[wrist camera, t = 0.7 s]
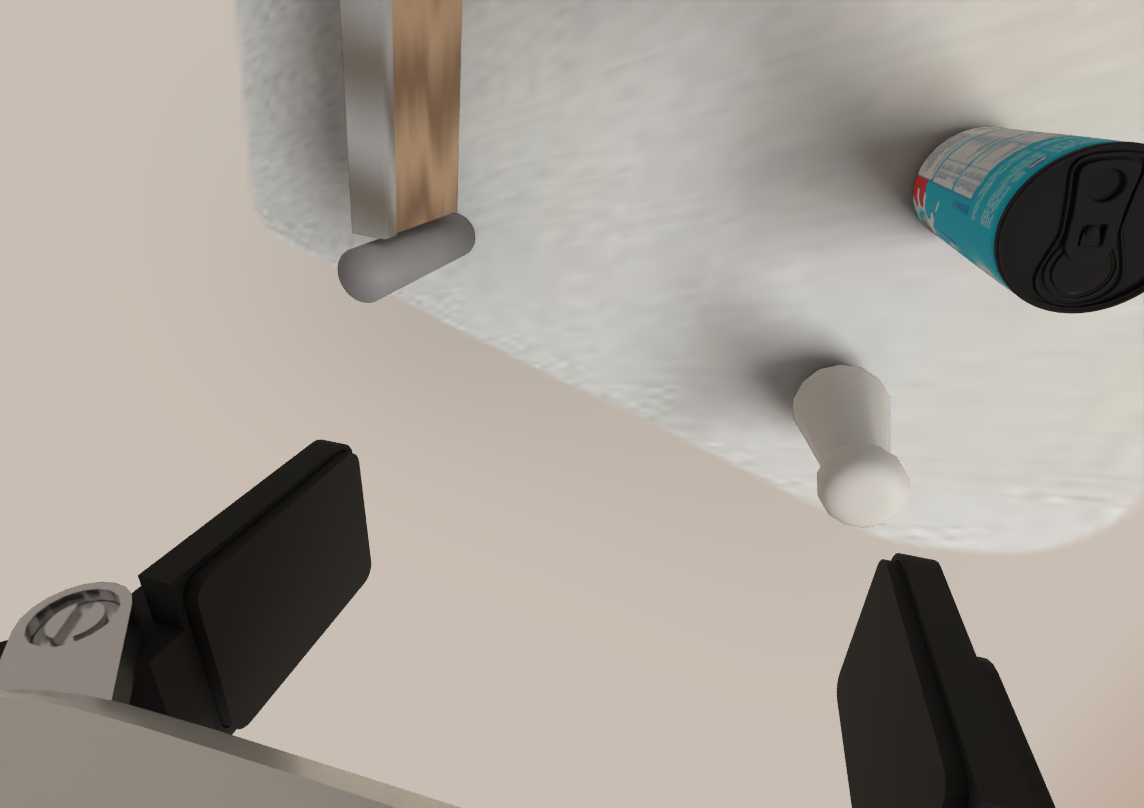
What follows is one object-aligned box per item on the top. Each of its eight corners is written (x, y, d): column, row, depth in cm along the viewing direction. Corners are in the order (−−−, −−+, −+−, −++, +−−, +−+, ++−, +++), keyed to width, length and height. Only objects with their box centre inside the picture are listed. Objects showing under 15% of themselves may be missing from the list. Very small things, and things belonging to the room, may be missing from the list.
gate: (460, 211, 42) (385, 239, 33) (433, 207, 42) (352, 233, 34) (467, -62, 35) (375, -114, 26) (435, -65, 35) (333, -116, 27)
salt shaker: (856, 443, 43) (891, 565, 32) (777, 413, 44) (783, 522, 32) (900, 370, 40) (956, 476, 29) (814, 340, 41) (836, 431, 29)
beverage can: (894, 228, 37) (969, 297, 24) (932, 119, 34) (1041, 129, 21) (1002, 245, 36) (1143, 328, 23) (1051, 134, 33) (1243, 155, 20)
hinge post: (436, 209, 44) (335, 243, 33) (476, 216, 43) (386, 253, 33) (436, 252, 45) (339, 297, 35) (474, 259, 45) (387, 307, 34)
